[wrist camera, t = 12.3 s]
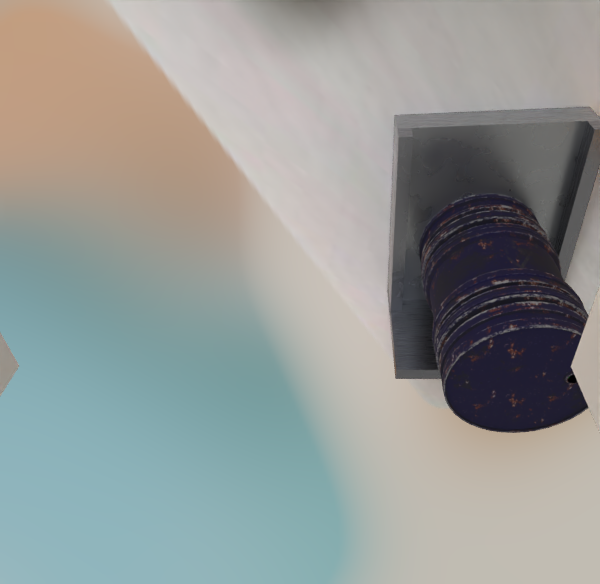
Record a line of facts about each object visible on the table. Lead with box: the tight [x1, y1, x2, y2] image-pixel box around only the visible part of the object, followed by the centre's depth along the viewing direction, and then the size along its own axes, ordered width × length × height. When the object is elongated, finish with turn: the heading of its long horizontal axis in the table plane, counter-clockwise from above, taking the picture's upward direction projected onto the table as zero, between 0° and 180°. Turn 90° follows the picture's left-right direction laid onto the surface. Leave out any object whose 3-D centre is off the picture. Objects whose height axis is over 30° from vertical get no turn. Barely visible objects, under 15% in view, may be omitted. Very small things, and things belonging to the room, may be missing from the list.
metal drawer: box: [388, 107, 600, 379], centre depth 41 cm, size 17×14×11 cm
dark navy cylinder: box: [419, 194, 589, 433], centre depth 39 cm, size 10×10×15 cm
